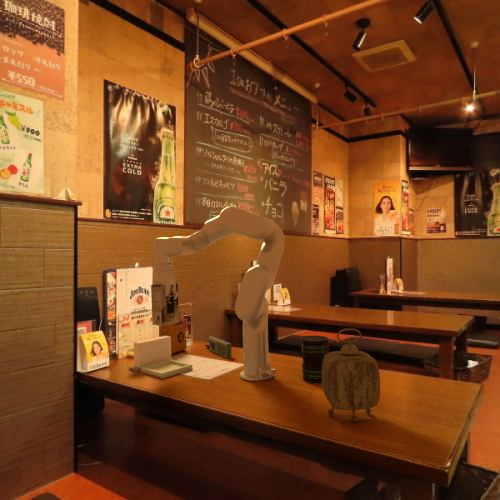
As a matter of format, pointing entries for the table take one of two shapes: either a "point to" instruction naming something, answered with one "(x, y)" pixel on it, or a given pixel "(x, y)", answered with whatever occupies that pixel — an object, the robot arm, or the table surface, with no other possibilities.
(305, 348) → the storage jar
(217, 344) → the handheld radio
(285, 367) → the table surface
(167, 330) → the coffee package
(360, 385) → the tabletop clock
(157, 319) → the coffee box
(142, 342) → the panel unit
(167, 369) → the tray
